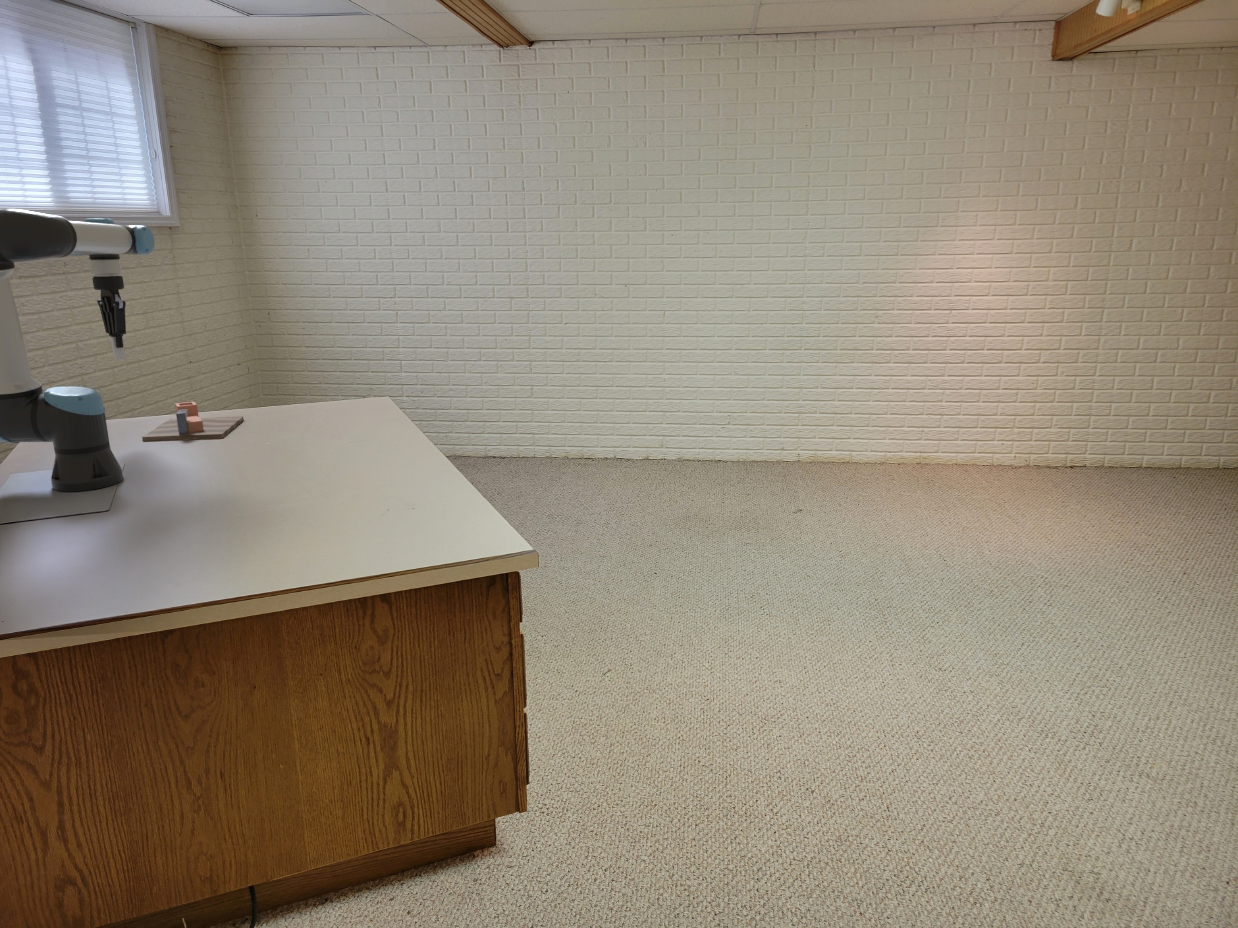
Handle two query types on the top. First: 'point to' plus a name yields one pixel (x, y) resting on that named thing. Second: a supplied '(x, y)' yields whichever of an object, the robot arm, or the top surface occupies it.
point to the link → (191, 416)
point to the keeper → (182, 421)
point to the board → (211, 426)
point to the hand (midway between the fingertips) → (119, 358)
